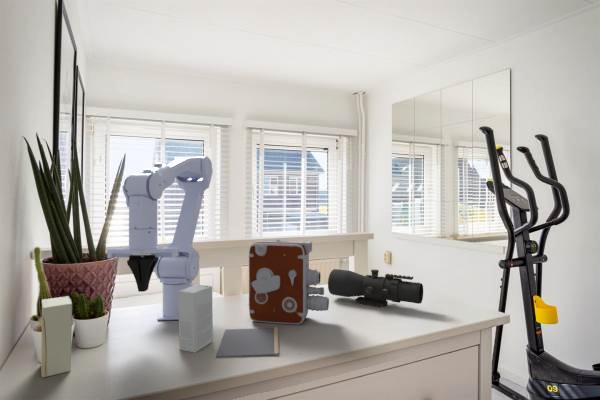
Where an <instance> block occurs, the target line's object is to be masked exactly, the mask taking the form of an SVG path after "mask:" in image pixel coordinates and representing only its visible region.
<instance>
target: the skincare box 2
mask: <svg viewBox="0 0 600 400" xmlns="http://www.w3.org/2000/svg"><path fill="white" fill-rule="evenodd" d="M178 294H179V320H178V341H179V342H178V346H179V350H180V351H184V352H190V353H197V352H199V351H200V350H201V349H203V348H204V347H206V346H207V345H209V344H211V343H213V341H214V337H213V336H214V328H213V323H214V322H213V321H214V320H213V286H212V285H206V284H193V286H192V287H189V288H186V289H183V290H181V291H179V292H178Z"/></svg>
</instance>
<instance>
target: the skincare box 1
mask: <svg viewBox="0 0 600 400" xmlns="http://www.w3.org/2000/svg"><path fill="white" fill-rule="evenodd" d="M72 325H73V301H72V298H71V297H70V296H69V295H66V296H59V297H51V298H43V299H41V340H40V341H41V342H40V343H41V347H40V349H41V350H40V353H41V354H40V366H41V367H40V369H41V370H40V372H41V378H47V377H51V376H56V375H59V374H65V373H69V372H71V371H72V333H73V332H72V331H73V329H72V328H73V326H72Z"/></svg>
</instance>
